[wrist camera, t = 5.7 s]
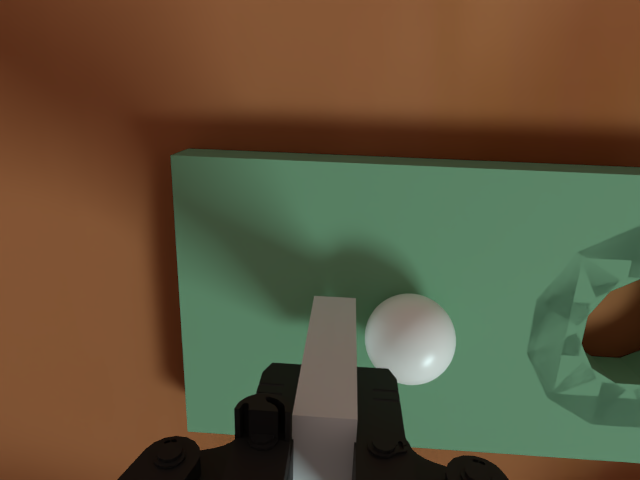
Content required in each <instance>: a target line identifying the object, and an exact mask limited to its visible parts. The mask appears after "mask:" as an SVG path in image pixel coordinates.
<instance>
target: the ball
mask: <svg viewBox="0 0 640 480" xmlns="http://www.w3.org/2000/svg"><path fill="white" fill-rule="evenodd" d="M365 346H366V351H367V354H368V356H369V358H370V360H371V362H372V364H373V365H374V367H375V368H386V369H389V370H390V371H391V373H392V374H393V375H394V376H395V377H396V379H397V383H400V384H405V385H420V384H424V383H428V382H430V381H432V380H434V379H436V378H437V377H438V376H440V375H441V374H442V373H443V372H444V371H445V370H446V369H447V367H448V366H449V364H450V363H451V361H452V359H453V356H454V353H455V348H456V334H455V330H454V326H453V323H452V321H451V319H450V317H449V316H448V314H447V313H446V311H445V310H444V309H443V308H442V307H441V306H440V305H439V304H437V303H436V302H435V301H433V300H431V299H429V298H428V297H425V296H422V295H418V294H408V293H406V294H399V295H395V296H392V297H390V298H388V299H386V300H385V301H383V302H382V303H380V304H379V305H378V306H377V307H376V308H375V310H374V311H373V312H372V314H371V315H370V317H369V319H368V322H367V325H366V329H365Z"/></svg>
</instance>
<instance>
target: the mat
mask: <svg viewBox="0 0 640 480" xmlns="http://www.w3.org/2000/svg"><path fill="white" fill-rule="evenodd" d="M170 156H171V172H172V188H173V203H174V219H175V235H176V251H177V267H178V283H179V299H180V315H181V331H182V347H183V363H184V379H185V395H186V411H187V427H188V431H189V432H204V433H218V434H232V435H235V419H234V408H235V407H236V405H237V404H238V402H239V401H241V400H243V399H244V398H246V397H248V396H251V395H254V394H256V391H257V388H258V385H259V382H260V379H261V375H262V372H263V371H264V370H265V369H266V368H267V367H268V366H269V365H270V364H271V363H287V364H302V359H303V354H304V348H305V343H306V338H307V332H308V327H309V321H310V316H311V310H312V305H313V300H314V296H326V297H344V298H356V345H357V367H370V368H375V367H374V365H373V364H372V362H371V360H370V358H369V356H368V354H367V351H366V346H365V329H366V325H367V322H368V319H369V317H370V315H371V314H372V312H373V311H374V310H375V308H376V307H377V306H378V305H379V304H380V303H382V302H383V301H385V300H386V299H388V298H390V297H392V296H395V295H399V294H406V293H408V294H418V295H422V296H425V297H428V298H429V299H431V300H433V301H435V302H436V303H437V304H439V305H440V306H441V307H442V308H443V309H444V310H445V311H446V313H447V314H448V316H449V317H450V319H451V321H452V323H453V326H454V330H455V334H456V348H455V353H454V356H453V359H452V361H451V363H450V364H449V366H448V367H447V369H446V370H445V371H444V372H443V373H442V374H441V375H440V376H438V377H437V378H436V379H434V380H432V381H430V382H428V383H424V384H420V385H405V384H400V383H397V384H398V393H399V397H400V404H401V411H402V417H403V424H404V430H405V437H406V440H407V441H408V442H409V444H410V446H411V447H417V448H431V449H445V450H460V451H474V452H488V453H502V454H516V455H531V456H545V457H559V458H573V459H588V460H602V461H616V462H630V463H640V350H639V351H637V352H634V353H632V354H629V355H626V356H624V357H621V358H613V357H596V356H590V355H589V354H587V353H585V351H584V349H583V346H582V339H583V335H584V331H585V326H586V322H587V317H588V315H589V314H590V313H591V312H592V311H593V310H594V309H595V307H596V306H597V305H598V304H599V303H600V302H601V301H602V300H603V299H604V298H605V297H606V295H607V294H608V293H609V292H610V291H612V290H615V289H617V288H620V287H622V286H625V285H627V284H629V283H632V282H634V281H637V280H639V279H640V167H620V166H596V165H572V164H548V163H524V162H500V161H476V160H452V159H428V158H403V157H379V156H355V155H331V154H307V153H283V152H259V151H235V150H211V149H186V150H183V151H181V152H178V153H175V154H173V155H170Z"/></svg>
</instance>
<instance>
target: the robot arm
mask: <svg viewBox="0 0 640 480" xmlns="http://www.w3.org/2000/svg"><path fill="white" fill-rule="evenodd" d="M234 419H235V440H234V441H232V442H231V443H228V444H226V445H224V446H220V447H217V448H212V449H206V450H200V448H199V446H198V445H197V444H196V442H195V441H193V440H191V439H189V438H187V437H179V436H174V437H168V438H163V439H161V440H159V441H157V442H154V443H153V444H152V445H150V446H149V447H148V448H146V449H145V450H144V451H143V452H142V454H141V455H140V456H139V457H138V458H137V459H136V460H135V461H134V462H133V463H132V464H131V465H130V467H129V468H128V469H127V470H126V471H125V472H124V473H123V474H122V475H121V476H120V477H119V478H118V480H508V478H507V477H506V475H505V474H504V473H503V472H502V471H501V470H500V469H499V468H498V467H497V466H496V465H494V464H493V463H491V462H489V461H488V460H486V459H483V458H479V457H476V456H464V455H463V456H460V457H456V458H454V459H452V460H451V461H450V462H449V463H448V465H447V467H446V466H443V465H440V464H437V463H434V462H431V461H429V460H426V459H424V458H423V457H421V456H420V455H418V454H417V453H416V452H414V451H413V450H412V448H411V446H410V444H409V442H408V441H407V440H406V437H405V430H404V424H403V417H402V411H401V404H400V397H399V393H398V384H397V379H396V377H395V376H394V375H393V374H392V373H391V371H390V370H389V369H386V368H370V367H357V345H356V298H344V297H326V296H314V300H313V305H312V310H311V316H310V321H309V327H308V332H307V338H306V343H305V348H304V354H303V359H302V364H287V363H271V364H270V365H269V366H268V367H267V368H266V369H265V370H264V371H263V372H262V375H261V379H260V382H259V385H258V388H257V391H256V394H254V395H251V396H248V397H246V398H244V399H243V400H241V401H239V402H238V404H237V405H236V407H235V408H234Z"/></svg>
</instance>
